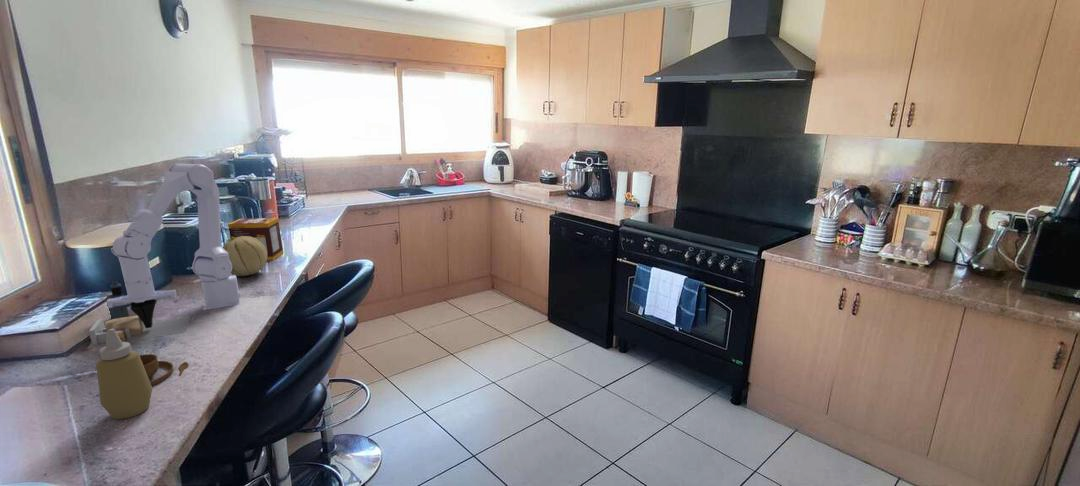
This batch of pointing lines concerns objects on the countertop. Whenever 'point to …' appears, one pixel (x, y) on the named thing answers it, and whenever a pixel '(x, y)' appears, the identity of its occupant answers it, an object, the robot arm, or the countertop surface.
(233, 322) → the countertop surface
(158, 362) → the place setting
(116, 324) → the peg
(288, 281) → the countertop surface
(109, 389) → the squeeze bottle
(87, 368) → the countertop surface
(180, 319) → the socket board
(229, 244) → the cantaloupe
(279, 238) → the supplement box
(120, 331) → the plunger
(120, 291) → the vaping device
